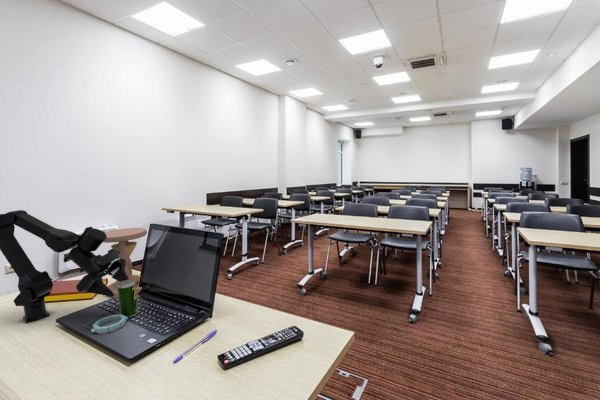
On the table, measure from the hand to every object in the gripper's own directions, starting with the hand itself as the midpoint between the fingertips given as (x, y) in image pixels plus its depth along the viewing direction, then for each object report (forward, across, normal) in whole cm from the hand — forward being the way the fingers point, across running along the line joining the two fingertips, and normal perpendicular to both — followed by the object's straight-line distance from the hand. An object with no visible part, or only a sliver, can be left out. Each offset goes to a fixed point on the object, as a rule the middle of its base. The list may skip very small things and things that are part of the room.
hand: (122, 290), depth 104 cm
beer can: (+8, 0, +6) cm, 10 cm away
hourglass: (-2, +22, +16) cm, 27 cm away
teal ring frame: (+6, -7, +7) cm, 12 cm away
